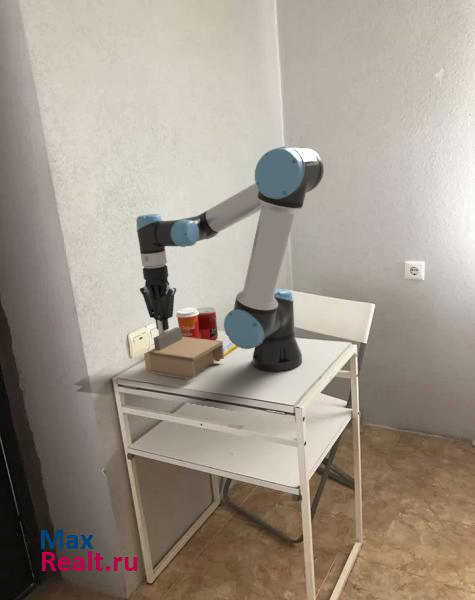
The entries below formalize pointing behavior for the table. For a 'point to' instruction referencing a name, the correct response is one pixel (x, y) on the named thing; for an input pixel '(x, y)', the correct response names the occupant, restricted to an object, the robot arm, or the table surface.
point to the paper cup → (188, 322)
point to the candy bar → (228, 349)
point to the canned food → (207, 323)
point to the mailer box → (198, 365)
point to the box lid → (181, 352)
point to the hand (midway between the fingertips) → (164, 339)
